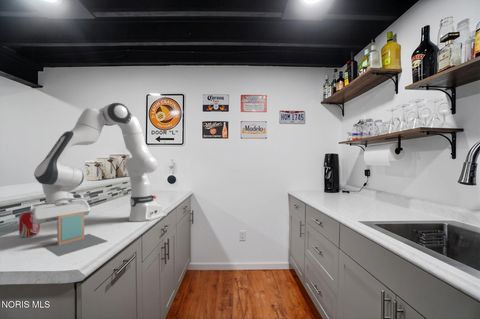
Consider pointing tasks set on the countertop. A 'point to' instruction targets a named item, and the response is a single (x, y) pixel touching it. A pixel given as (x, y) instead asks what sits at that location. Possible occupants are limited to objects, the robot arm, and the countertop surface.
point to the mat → (74, 245)
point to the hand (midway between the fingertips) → (67, 225)
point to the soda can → (27, 225)
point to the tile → (70, 227)
